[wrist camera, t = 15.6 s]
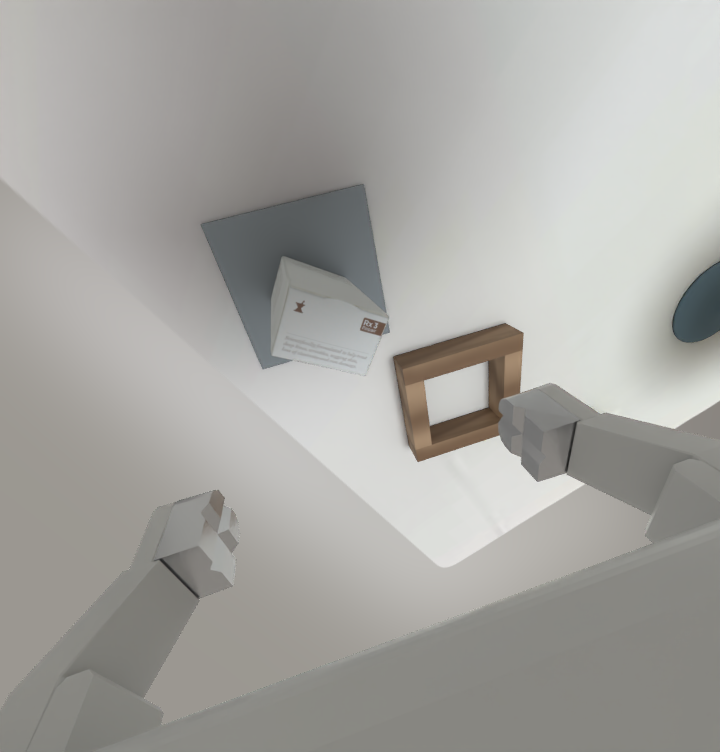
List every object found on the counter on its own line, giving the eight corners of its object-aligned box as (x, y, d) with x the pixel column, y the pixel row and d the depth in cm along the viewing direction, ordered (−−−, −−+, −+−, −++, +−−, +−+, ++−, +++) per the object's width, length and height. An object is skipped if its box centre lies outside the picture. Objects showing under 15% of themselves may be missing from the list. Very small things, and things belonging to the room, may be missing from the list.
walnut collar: (393, 356, 34) (402, 369, 31) (505, 323, 35) (523, 332, 32) (408, 445, 40) (417, 462, 38) (502, 415, 41) (517, 429, 39)
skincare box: (269, 302, 28) (263, 361, 17) (282, 251, 26) (283, 282, 16) (335, 321, 30) (364, 384, 20) (351, 275, 28) (392, 316, 18)
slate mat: (201, 224, 24) (200, 224, 24) (362, 184, 25) (363, 183, 25) (262, 367, 31) (262, 369, 31) (388, 331, 32) (389, 332, 32)
